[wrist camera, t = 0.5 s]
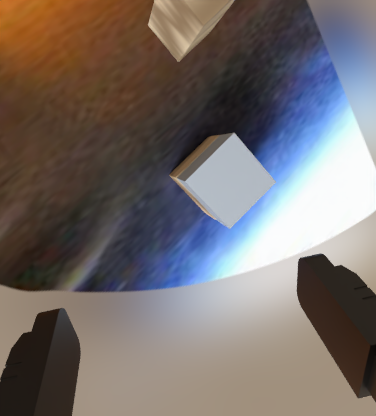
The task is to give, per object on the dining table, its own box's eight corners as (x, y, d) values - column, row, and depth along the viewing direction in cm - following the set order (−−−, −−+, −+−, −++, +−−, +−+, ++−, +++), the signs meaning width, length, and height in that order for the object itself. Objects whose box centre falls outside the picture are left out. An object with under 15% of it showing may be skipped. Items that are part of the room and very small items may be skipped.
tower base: (168, 174, 35) (175, 177, 32) (207, 136, 36) (219, 134, 32) (204, 212, 37) (215, 219, 33) (242, 176, 37) (256, 178, 33)
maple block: (148, 25, 32) (161, -29, 23) (180, -5, 33) (207, -72, 23) (178, 62, 34) (203, 25, 24) (209, 32, 34) (246, -16, 24)
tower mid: (176, 178, 32) (185, 181, 28) (219, 135, 32) (234, 132, 28) (216, 220, 33) (229, 228, 29) (257, 178, 33) (276, 182, 30)
